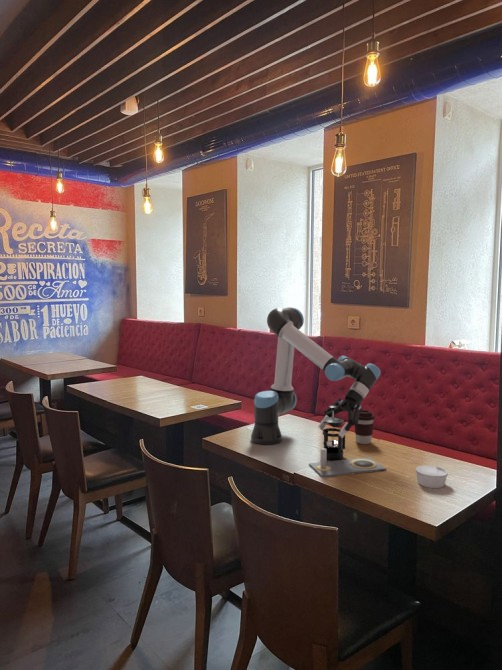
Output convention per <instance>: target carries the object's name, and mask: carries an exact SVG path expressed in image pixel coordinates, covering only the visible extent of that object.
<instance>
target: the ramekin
mask: <svg viewBox="0 0 502 670" xmlns="http://www.w3.org/2000/svg"><path fill="white" fill-rule="evenodd" d="M415 473H416V478H417V482H418V484H419V485H421V486H423V487H425V488H428V489H441V488H443V487H444V486H445V484H446V481H447V477H448V471H447V470H446V469H444V468H443V467H439V466H434V465H419V466H417V467H416V468H415Z"/></svg>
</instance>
